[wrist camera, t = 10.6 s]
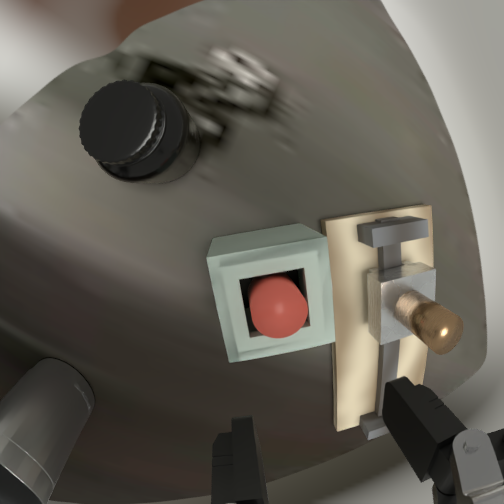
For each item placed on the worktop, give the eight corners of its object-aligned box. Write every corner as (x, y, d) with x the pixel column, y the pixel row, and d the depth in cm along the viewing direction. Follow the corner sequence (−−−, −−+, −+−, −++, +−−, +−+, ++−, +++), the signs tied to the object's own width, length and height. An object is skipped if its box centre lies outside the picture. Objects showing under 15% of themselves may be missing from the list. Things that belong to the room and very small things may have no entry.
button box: (229, 318, 29) (229, 362, 21) (212, 237, 27) (206, 257, 19) (314, 302, 29) (342, 340, 21) (305, 222, 27) (334, 235, 20)
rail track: (333, 424, 33) (344, 448, 28) (320, 219, 28) (337, 226, 23) (413, 397, 33) (429, 416, 29) (423, 204, 28) (450, 208, 23)
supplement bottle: (137, 108, 24) (81, 61, 12) (208, 115, 25) (193, 64, 13) (122, 179, 25) (54, 175, 14) (193, 189, 26) (165, 189, 14)
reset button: (252, 318, 23) (256, 343, 19) (244, 274, 22) (247, 292, 18) (297, 309, 23) (310, 332, 19) (291, 265, 22) (304, 281, 18)
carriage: (364, 327, 28) (412, 380, 18) (362, 270, 27) (420, 309, 17) (413, 313, 28) (469, 355, 19) (413, 259, 27) (479, 288, 17)
